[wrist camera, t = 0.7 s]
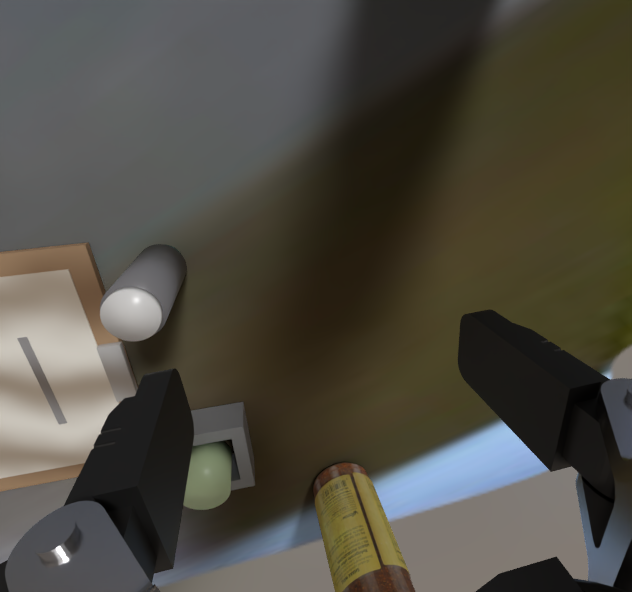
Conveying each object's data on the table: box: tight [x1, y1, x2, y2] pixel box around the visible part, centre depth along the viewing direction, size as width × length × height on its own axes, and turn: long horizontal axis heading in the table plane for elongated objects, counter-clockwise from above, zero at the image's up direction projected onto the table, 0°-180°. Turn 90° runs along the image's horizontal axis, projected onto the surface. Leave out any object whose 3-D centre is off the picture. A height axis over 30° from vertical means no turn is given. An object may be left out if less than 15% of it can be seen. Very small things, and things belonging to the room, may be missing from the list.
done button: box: [183, 441, 232, 510], centre depth 29 cm, size 4×4×4 cm
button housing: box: [191, 402, 255, 490], centre depth 32 cm, size 7×7×3 cm
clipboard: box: [0, 243, 138, 491], centre depth 27 cm, size 20×15×1 cm
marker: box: [100, 244, 187, 341], centre depth 22 cm, size 3×3×9 cm
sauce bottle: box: [313, 462, 415, 592], centre depth 29 cm, size 7×6×20 cm
